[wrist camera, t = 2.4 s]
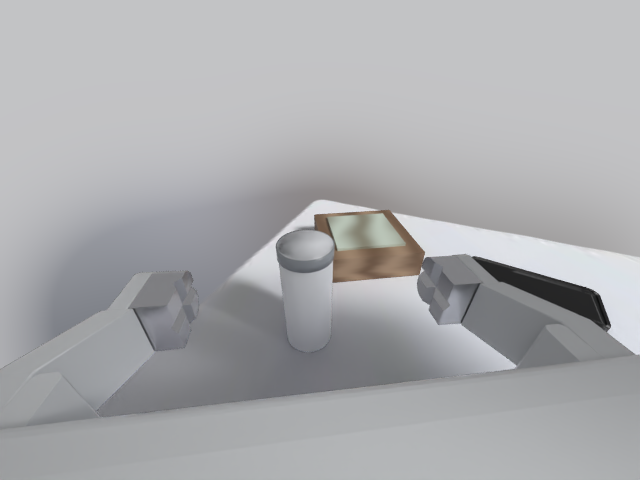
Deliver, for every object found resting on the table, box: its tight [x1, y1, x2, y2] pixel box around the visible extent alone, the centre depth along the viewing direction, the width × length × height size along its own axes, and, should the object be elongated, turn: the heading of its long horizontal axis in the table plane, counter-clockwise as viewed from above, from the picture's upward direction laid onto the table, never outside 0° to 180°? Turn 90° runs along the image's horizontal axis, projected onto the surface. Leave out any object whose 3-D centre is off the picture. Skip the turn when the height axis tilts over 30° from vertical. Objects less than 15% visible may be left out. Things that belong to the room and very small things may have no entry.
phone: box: [472, 256, 611, 332], centre depth 34 cm, size 8×1×15 cm
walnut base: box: [314, 210, 425, 283], centre depth 41 cm, size 14×14×4 cm
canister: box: [276, 230, 335, 352], centre depth 26 cm, size 5×5×12 cm
